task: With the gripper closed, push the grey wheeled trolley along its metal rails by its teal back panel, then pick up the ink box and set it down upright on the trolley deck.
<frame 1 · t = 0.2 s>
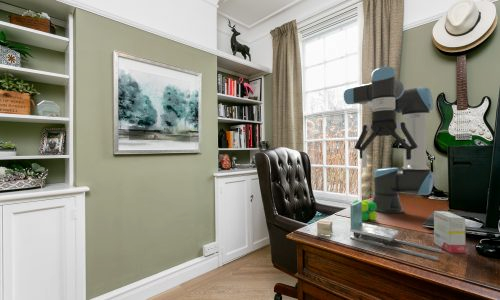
hand: (384, 168, 87), 27 cm above the table, fingers open, 13 cm apart
ink box: (449, 248, 82), on the table
trolley: (374, 221, 90), point 7 cm above the table, slide at 0.0 cm
track: (392, 244, 85), on the table
molecule model: (364, 219, 116), on the table
beech block: (324, 233, 97), on the table
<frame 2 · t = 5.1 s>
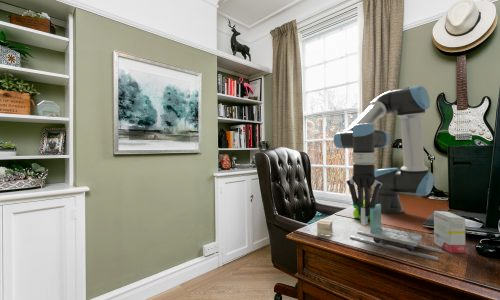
hand: (364, 224, 92), 5 cm above the table, fingers closed
trolley: (395, 226, 85), point 7 cm above the table, slide at 7.2 cm, touching hand
everything else where it was.
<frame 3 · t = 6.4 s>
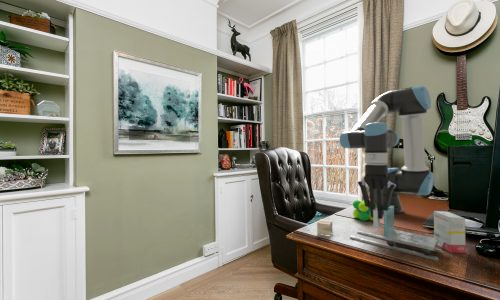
hand: (376, 226, 89), 5 cm above the table, fingers closed
trolley: (410, 228, 81), point 7 cm above the table, slide at 11.6 cm, touching hand
everything else where it was.
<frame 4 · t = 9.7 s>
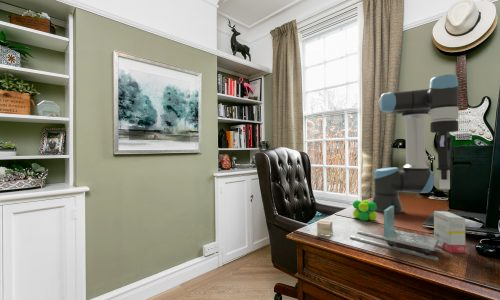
hand: (444, 188, 82), 21 cm above the table, fingers closed
trolley: (410, 228, 81), point 7 cm above the table, slide at 11.6 cm
everything else where it was.
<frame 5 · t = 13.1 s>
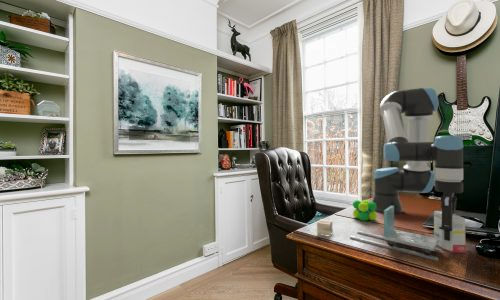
hand: (449, 244, 82), 1 cm above the table, fingers closed on ink box, 9 cm apart
ink box: (449, 248, 82), on the table, touching gripper
everything else where it was.
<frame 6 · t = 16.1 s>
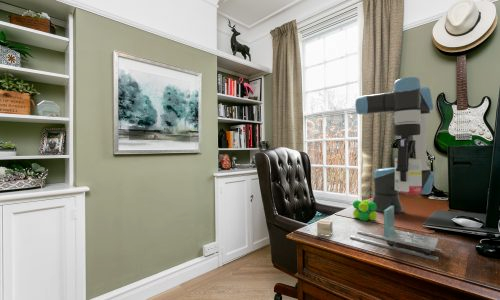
hand: (407, 189, 81), 21 cm above the table, fingers closed on ink box, 9 cm apart
ink box: (407, 192, 81), point 19 cm above the table, touching gripper
everything else where it was.
when the fingers open (6 cm above the table, at t = 19.1 s): ink box drops 1 cm, resting on trolley.
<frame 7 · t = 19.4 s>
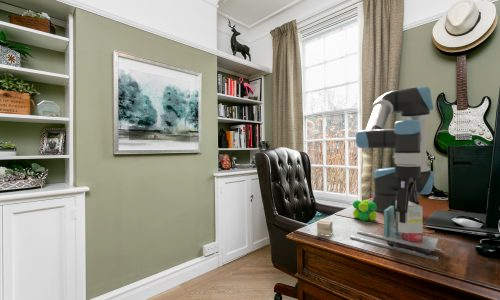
hand: (407, 227, 81), 8 cm above the table, fingers open, 13 cm apart
ink box: (408, 237, 82), point 4 cm above the table, touching trolley
trolley: (410, 228, 81), point 7 cm above the table, slide at 11.6 cm, touching ink box
everything else where it was.
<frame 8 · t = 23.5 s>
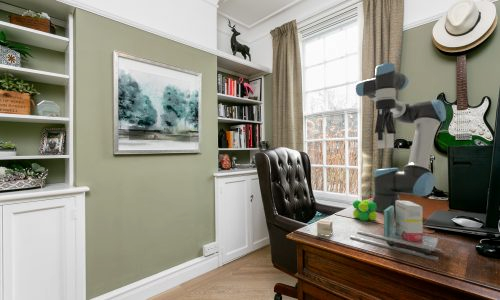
hand: (385, 148, 104), 35 cm above the table, fingers open, 13 cm apart
nothing on the table moved.
at the end: trolley slide at 11.6 cm; ink box inside the target area on the trolley (2.1 cm from its centre), point 3.9 cm above the trolley's base; ink box tilted 0° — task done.
